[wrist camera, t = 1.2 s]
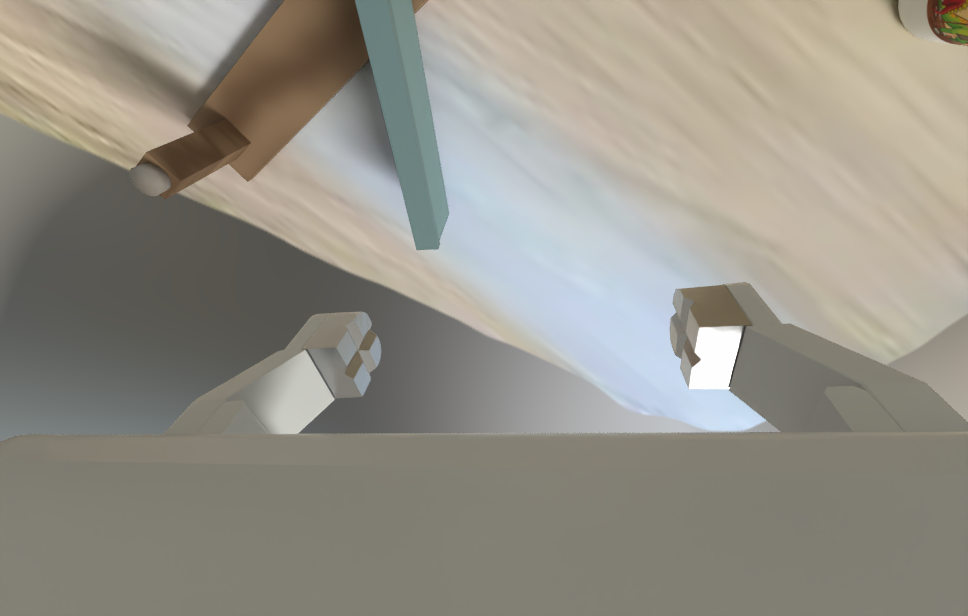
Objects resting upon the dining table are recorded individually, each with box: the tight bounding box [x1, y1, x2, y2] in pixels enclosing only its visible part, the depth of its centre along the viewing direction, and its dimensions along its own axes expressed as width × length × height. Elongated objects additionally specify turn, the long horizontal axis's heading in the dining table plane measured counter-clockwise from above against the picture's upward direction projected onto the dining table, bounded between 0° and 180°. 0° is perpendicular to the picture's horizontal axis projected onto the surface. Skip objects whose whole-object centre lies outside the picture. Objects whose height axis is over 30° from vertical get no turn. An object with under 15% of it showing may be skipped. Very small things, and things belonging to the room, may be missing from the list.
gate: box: [355, 0, 449, 250], centre depth 28 cm, size 19×2×7 cm, turn 6°
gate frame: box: [129, 0, 428, 199], centre depth 26 cm, size 6×27×11 cm, turn 126°
